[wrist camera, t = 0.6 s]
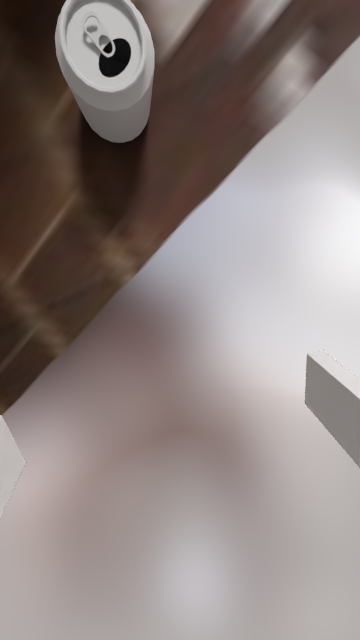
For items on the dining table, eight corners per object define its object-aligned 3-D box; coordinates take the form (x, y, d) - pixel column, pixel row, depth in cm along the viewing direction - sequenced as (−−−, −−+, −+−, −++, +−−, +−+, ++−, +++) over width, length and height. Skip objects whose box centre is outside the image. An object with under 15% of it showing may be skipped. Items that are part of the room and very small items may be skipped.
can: (117, 160, 32) (107, 126, 21) (67, 101, 30) (23, 27, 18) (163, 111, 31) (177, 49, 20) (114, 46, 29) (99, -67, 17)
